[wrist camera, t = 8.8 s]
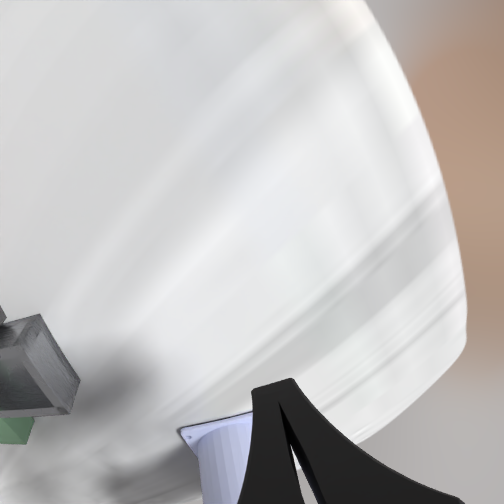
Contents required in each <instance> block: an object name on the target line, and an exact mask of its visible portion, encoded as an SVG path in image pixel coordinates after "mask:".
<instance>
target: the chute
mask: <svg viewBox="0 0 504 504" xmlns="http://www.w3.org/2000/svg"><path fill="white" fill-rule="evenodd" d="M79 383H80V379H79V377H78V376H77V374H76V373H75V371H74V370H73V368H72V367H71V365H70V364H69V362H68V361H67V359H66V357H65V356H64V354H63V353H62V351H61V349H60V348H59V346H58V344H57V343H56V341H55V339H54V338H53V336H52V334H51V333H50V331H49V329H48V327H47V326H46V324H45V322H44V320H43V318H42V317H41V315H40V314H37V315H34V316H30V317H26V318H23V319H19V320H15V321H12V322H8V323H4V324H1V325H0V387H1V388H2V390H1V392H0V418H19V417H39V416H53V415H65V414H70V412H71V409H72V405H73V402H74V399H75V396H76V392H77V389H78V386H79Z"/></svg>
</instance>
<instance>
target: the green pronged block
mask: <svg viewBox="0 0 504 504" xmlns="http://www.w3.org/2000/svg"><path fill="white" fill-rule="evenodd" d="M6 318H7V317H6V316H5V314H4V312H3V310H2V308H1V306H0V325H1V324H2V323H3V321H4V320H5V319H6ZM1 390H2V388H1V387H0V392H1ZM33 423H34V419H33V418H32V417H19V418H0V443H1V444H23V445H26V444H27V441H28V438H29V435H30V432H31V429H32V426H33Z"/></svg>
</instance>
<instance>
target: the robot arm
mask: <svg viewBox="0 0 504 504" xmlns="http://www.w3.org/2000/svg"><path fill="white" fill-rule="evenodd" d="M251 394H252V405H253V412H251V413H248V414H244V415H240V416H236V417H232V418H228V419H224V420H219V421H215V422H210V423H206V424H201V425H196V426H191V427H186V428H182V429H181V431H180V432H181V436H182V437H183V438H184V440H185V441H186V443H187V444H188V446H189V447H190V448H191V450H192V451H193V452H194V454H195V455H196V457H197V458H198V460H199V470H200V480H201V489H202V497H203V504H305V503H304V500H303V497H302V494H301V490H300V485H299V480H298V476H297V471H296V467H295V463H294V458H293V454H292V449H293V451H294V453H295V455H296V457H297V459H298V462H299V464H300V466H301V468H302V470H303V472H304V474H305V476H306V479H307V481H308V483H309V485H310V487H311V489H312V491H313V493H314V496H315V498H316V500H317V502H318V504H465V503H464V502H463V501H461V500H460V499H459V498H457V497H455V496H452V495H448V494H446V493H443V492H440V491H437V490H435V489H432V488H430V487H427V486H425V485H422V484H420V483H418V482H416V481H414V480H411V479H410V478H408V477H406V476H404V475H402V474H400V473H398V472H396V471H395V470H393V469H391V468H389V467H387V466H386V465H384V464H382V463H381V462H379V461H378V460H376V459H375V458H373V457H372V456H370V455H369V454H367V453H366V452H365V451H363V450H362V449H360V448H359V447H358V446H357V445H355V444H354V443H353V442H351V441H350V440H349V439H348V438H347V437H346V436H344V435H343V434H342V433H341V432H340V431H339V430H337V429H336V428H335V427H334V426H333V425H332V424H331V423H330V422H329V421H328V420H327V419H326V418H325V417H324V416H323V415H322V414H321V413H320V412H319V411H318V410H317V409H316V408H315V406H314V405H313V404H312V403H311V402H310V401H309V399H308V398H307V397H306V396H305V395H304V393H303V392H302V391H301V389H300V388H299V386H298V385H297V383H296V382H295V380H294V379H292V378H288V379H285V380H281V381H278V382H275V383H271V384H268V385H265V386H261V387H258V388H254V389H253V390H252V391H251ZM290 444H291V445H290ZM291 446H292V449H291Z"/></svg>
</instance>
